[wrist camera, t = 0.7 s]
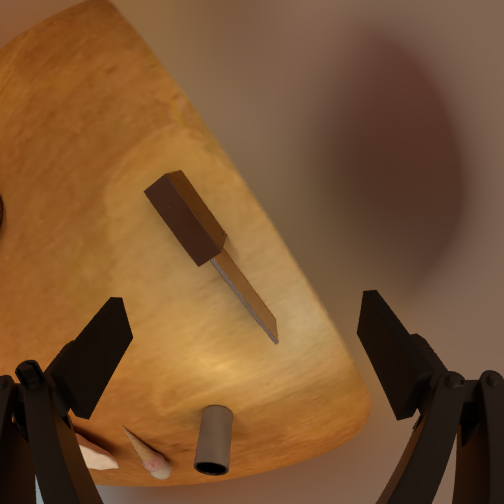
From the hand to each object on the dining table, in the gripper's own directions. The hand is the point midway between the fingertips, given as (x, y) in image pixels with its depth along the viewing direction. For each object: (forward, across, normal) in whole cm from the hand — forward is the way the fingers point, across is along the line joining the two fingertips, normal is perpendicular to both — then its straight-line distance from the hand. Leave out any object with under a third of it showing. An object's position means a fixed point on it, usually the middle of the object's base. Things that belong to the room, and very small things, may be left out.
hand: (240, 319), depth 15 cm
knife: (+15, -2, -2) cm, 15 cm away
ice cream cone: (+15, -22, -41) cm, 49 cm away
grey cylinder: (+15, -6, -27) cm, 32 cm away
